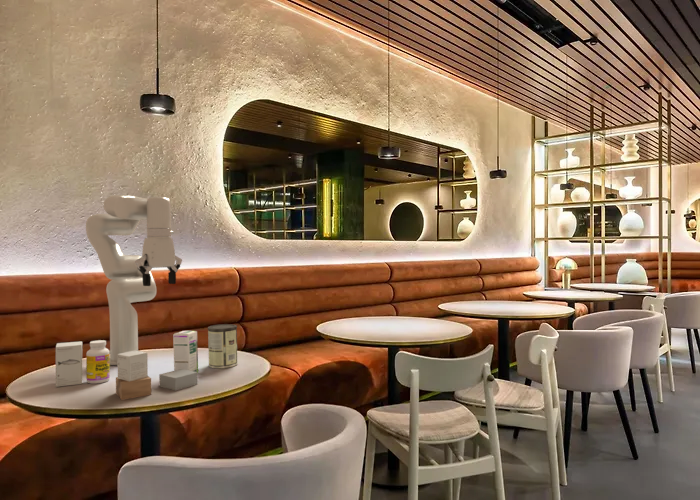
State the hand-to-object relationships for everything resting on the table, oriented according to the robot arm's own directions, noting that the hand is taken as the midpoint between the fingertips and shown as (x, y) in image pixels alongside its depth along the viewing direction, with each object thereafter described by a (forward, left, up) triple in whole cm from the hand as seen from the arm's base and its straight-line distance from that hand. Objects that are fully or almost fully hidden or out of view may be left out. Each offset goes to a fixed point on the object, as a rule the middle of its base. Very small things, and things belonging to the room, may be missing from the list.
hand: (159, 284), depth 165 cm
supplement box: (-16, -22, -31) cm, 41 cm away
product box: (+12, -18, -26) cm, 34 cm away
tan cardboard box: (+12, -18, -31) cm, 37 cm away
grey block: (+16, -5, -31) cm, 35 cm away
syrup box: (+8, +4, -31) cm, 32 cm away
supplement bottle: (-10, -16, -31) cm, 36 cm away
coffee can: (+8, +20, -31) cm, 37 cm away
